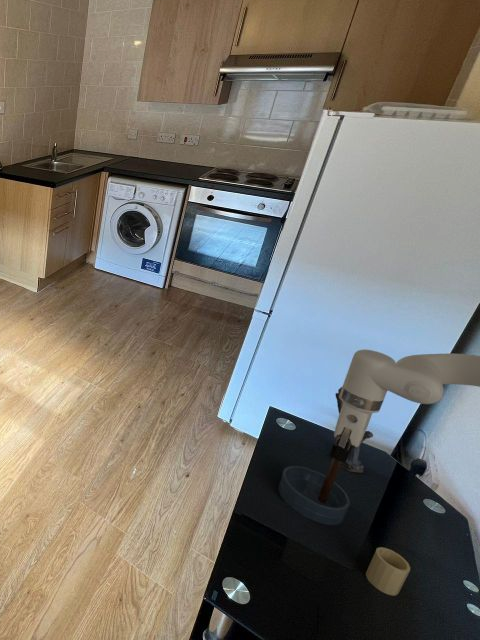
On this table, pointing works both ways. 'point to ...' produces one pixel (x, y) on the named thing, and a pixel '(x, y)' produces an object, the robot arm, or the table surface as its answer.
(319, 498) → the stick
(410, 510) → the table surface
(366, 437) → the antler
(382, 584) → the cup
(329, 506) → the bowl
